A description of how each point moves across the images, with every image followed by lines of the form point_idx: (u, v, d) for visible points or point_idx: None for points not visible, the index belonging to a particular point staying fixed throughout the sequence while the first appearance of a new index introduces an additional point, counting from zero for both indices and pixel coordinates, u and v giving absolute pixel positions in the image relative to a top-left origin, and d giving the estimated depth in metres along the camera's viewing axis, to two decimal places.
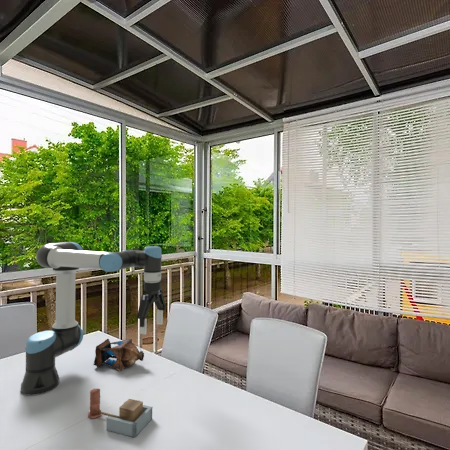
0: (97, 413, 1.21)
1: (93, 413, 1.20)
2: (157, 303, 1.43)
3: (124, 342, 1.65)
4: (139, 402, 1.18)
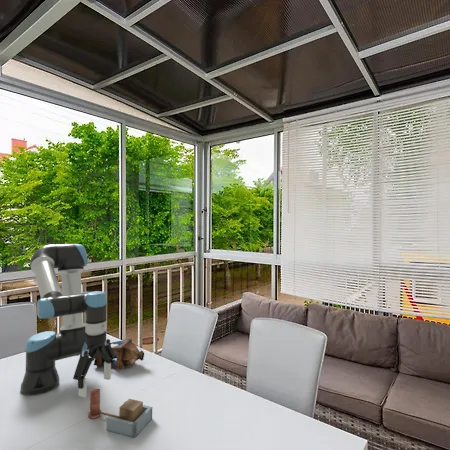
0: (97, 413, 1.21)
1: (93, 413, 1.20)
2: (103, 356, 1.26)
3: (124, 342, 1.65)
4: (139, 402, 1.18)
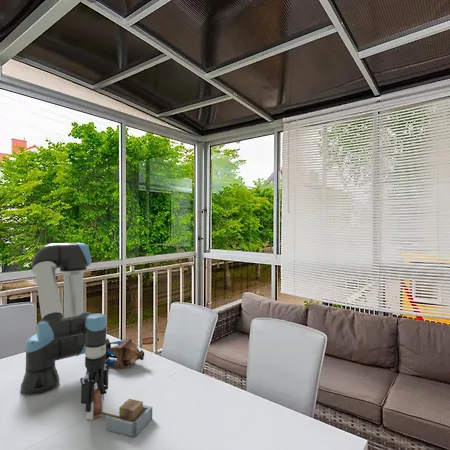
0: (97, 413, 1.21)
1: (93, 413, 1.20)
2: (99, 382, 1.24)
3: (124, 342, 1.66)
4: (139, 402, 1.18)
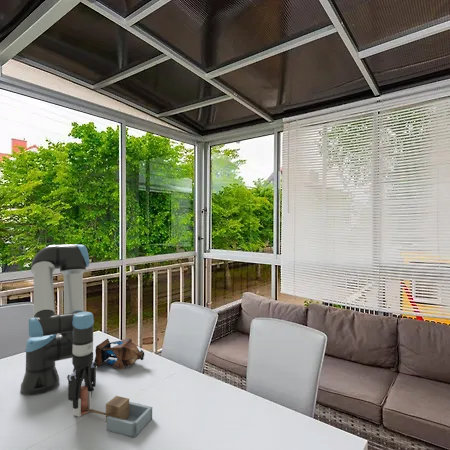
0: (84, 410, 1.23)
1: None
2: (86, 380, 1.26)
3: (124, 342, 1.66)
4: (125, 399, 1.20)
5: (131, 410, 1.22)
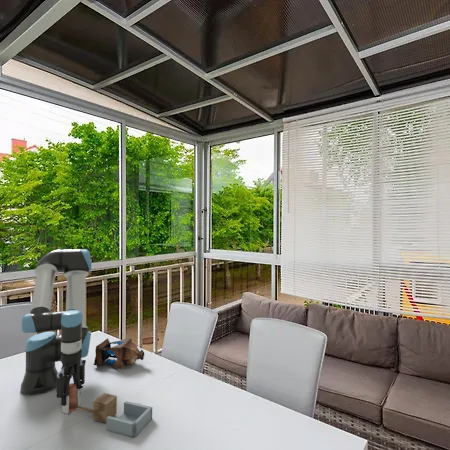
0: (73, 407, 1.24)
1: (69, 407, 1.24)
2: (75, 377, 1.27)
3: (124, 341, 1.66)
4: (113, 396, 1.22)
5: (131, 410, 1.22)
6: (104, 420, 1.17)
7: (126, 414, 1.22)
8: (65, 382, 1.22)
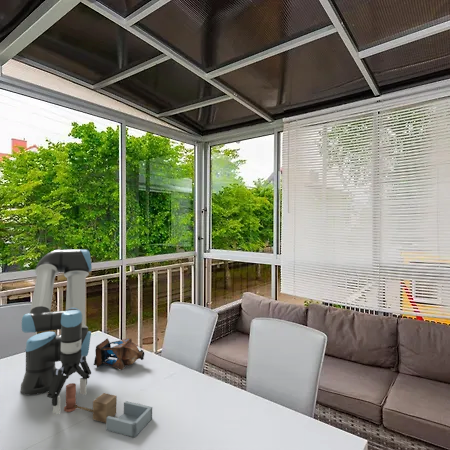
0: (73, 407, 1.24)
1: (69, 407, 1.24)
2: (79, 372, 1.30)
3: (124, 341, 1.66)
4: (113, 396, 1.22)
5: (131, 410, 1.22)
6: (104, 420, 1.17)
7: (126, 414, 1.22)
8: (61, 381, 1.21)
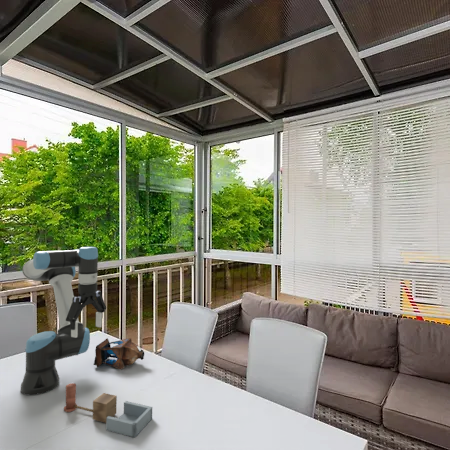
0: (73, 407, 1.24)
1: (69, 407, 1.24)
2: (95, 305, 1.39)
3: (124, 341, 1.66)
4: (113, 396, 1.22)
5: (131, 410, 1.22)
6: (104, 420, 1.17)
7: (126, 414, 1.22)
8: (78, 308, 1.31)
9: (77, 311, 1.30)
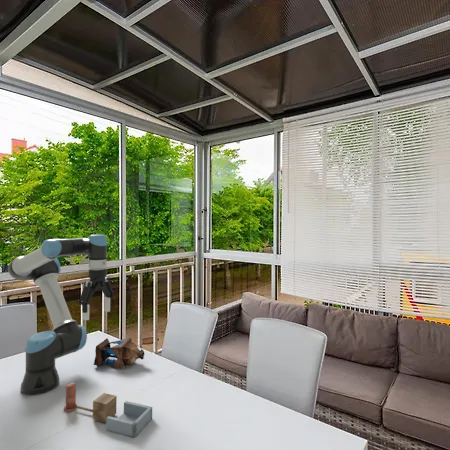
0: (73, 407, 1.24)
1: (69, 407, 1.24)
2: (104, 290, 1.46)
3: (124, 341, 1.66)
4: (113, 396, 1.22)
5: (131, 410, 1.22)
6: (104, 420, 1.17)
7: (126, 414, 1.22)
8: (89, 293, 1.37)
9: (89, 295, 1.36)
